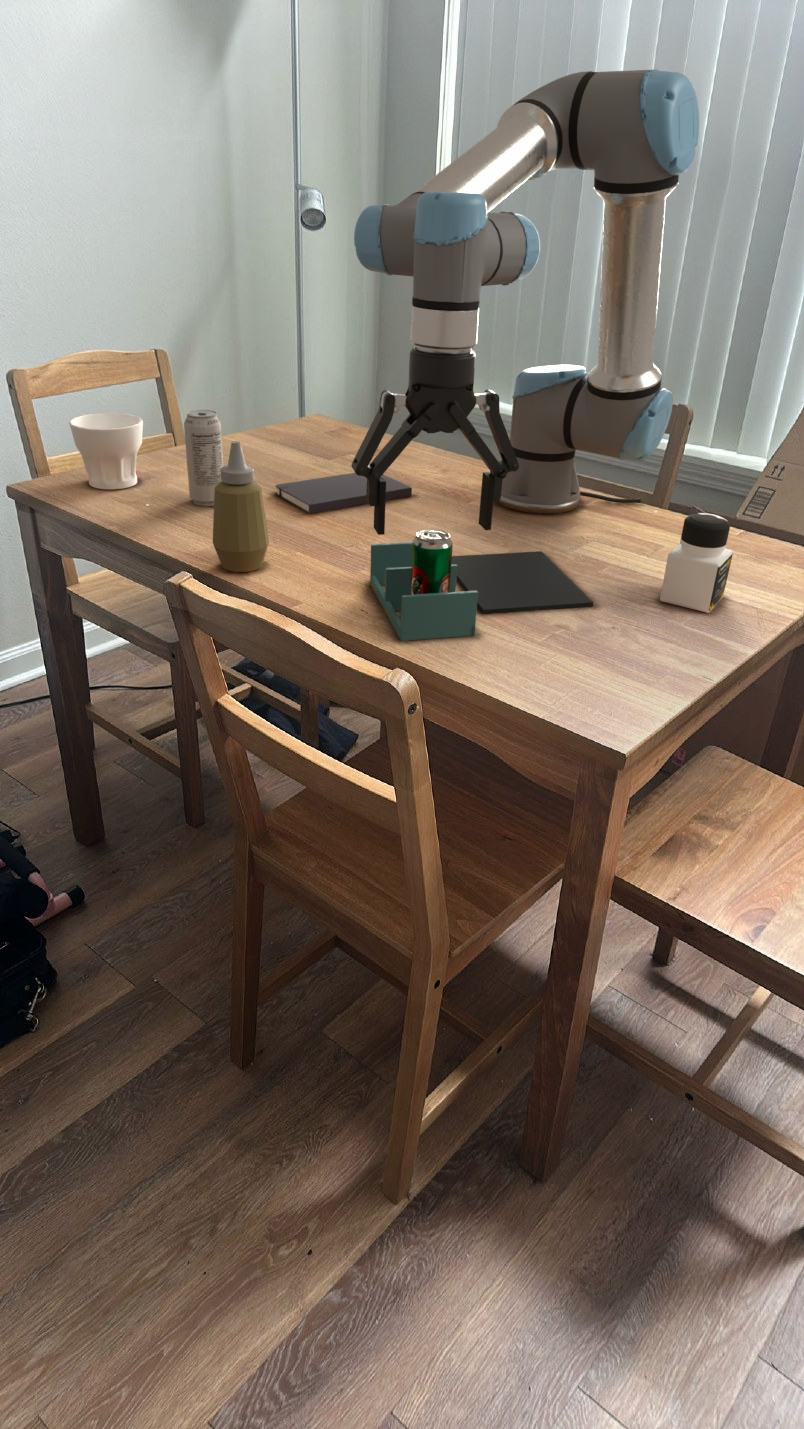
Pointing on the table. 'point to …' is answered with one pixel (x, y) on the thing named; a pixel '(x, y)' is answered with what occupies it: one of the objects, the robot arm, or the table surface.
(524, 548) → the table surface
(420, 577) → the soda can
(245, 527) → the squeeze bottle
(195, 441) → the energy drink can
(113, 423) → the cup
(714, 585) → the medicine bottle
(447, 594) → the frame
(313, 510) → the notebook
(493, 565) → the mat
